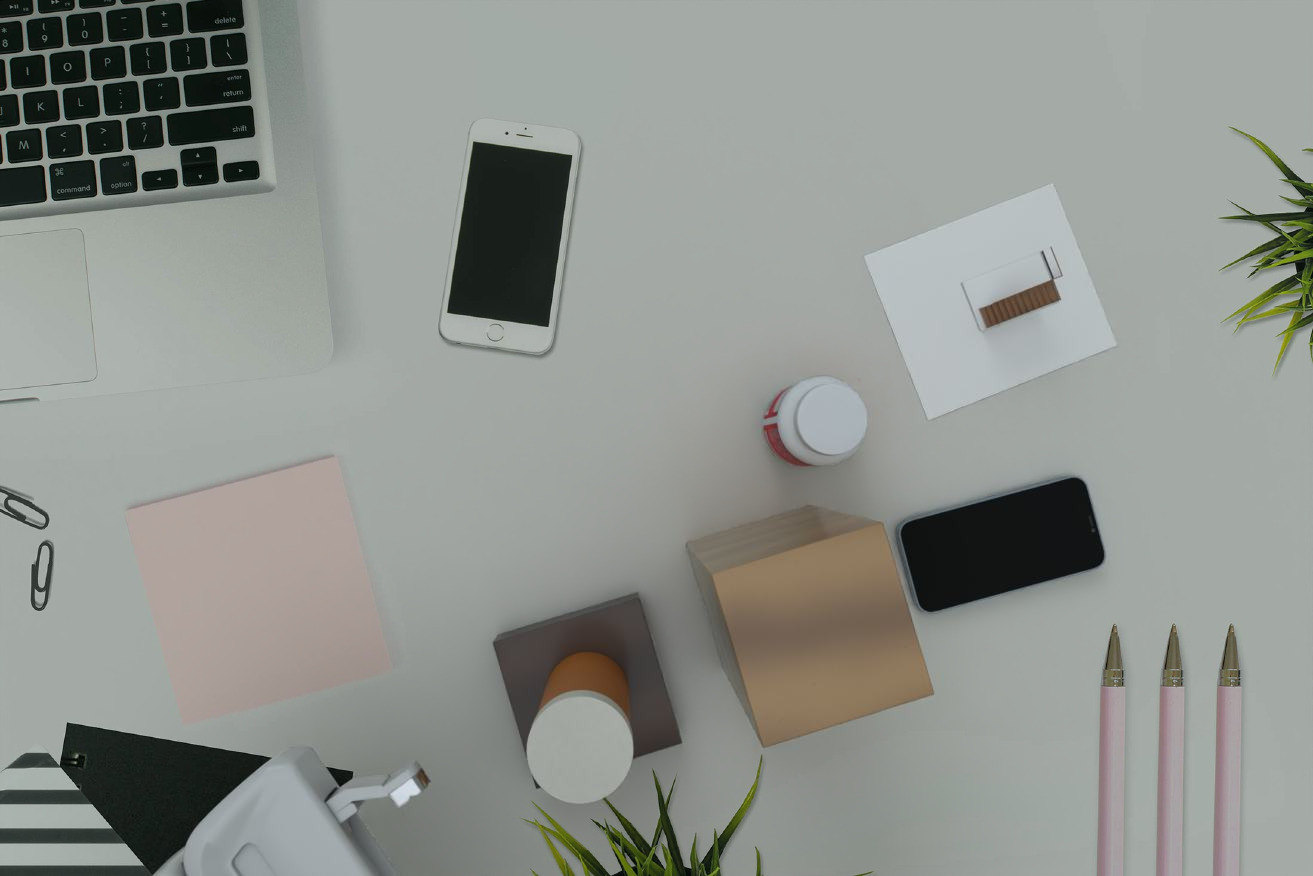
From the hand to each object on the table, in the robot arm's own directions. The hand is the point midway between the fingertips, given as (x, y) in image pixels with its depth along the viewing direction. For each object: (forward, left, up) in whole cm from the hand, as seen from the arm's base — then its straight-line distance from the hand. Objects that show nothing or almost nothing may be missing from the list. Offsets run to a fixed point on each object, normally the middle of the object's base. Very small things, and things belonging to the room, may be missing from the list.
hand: (471, 844), depth 52 cm
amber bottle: (+2, -7, -17) cm, 18 cm away
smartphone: (+3, -40, -20) cm, 44 cm away
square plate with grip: (+21, -45, -20) cm, 53 cm away
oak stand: (+5, -22, -20) cm, 30 cm away
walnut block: (+2, -7, -20) cm, 21 cm away
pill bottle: (+16, -28, -20) cm, 38 cm away
